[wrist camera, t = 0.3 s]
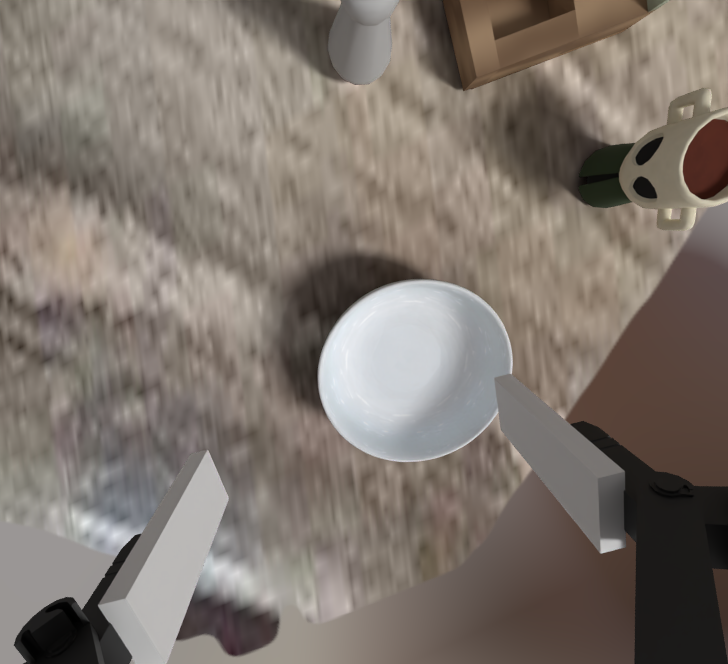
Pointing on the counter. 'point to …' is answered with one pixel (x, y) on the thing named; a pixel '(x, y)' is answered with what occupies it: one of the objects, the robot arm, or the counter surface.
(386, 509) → the counter surface
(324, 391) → the serving bowl
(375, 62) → the salt shaker
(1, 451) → the counter surface
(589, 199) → the character mug
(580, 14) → the socket station
